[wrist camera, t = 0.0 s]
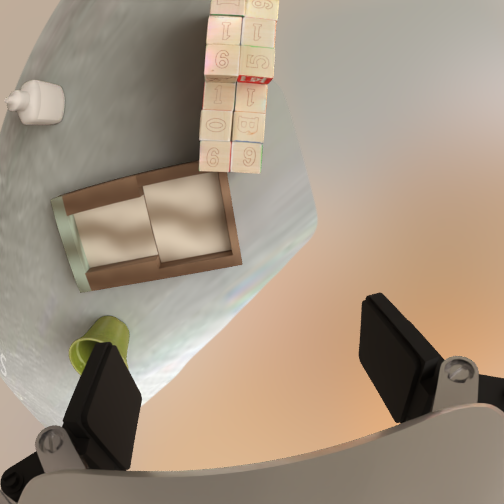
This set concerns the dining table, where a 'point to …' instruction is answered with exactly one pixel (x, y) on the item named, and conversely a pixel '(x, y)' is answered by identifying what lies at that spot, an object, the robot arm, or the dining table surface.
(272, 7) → the stack of blocks
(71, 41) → the dining table surface
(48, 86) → the eye dropper bottle
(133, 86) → the dining table surface
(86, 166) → the dining table surface
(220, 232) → the divided wooden tray
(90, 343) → the plant pot
